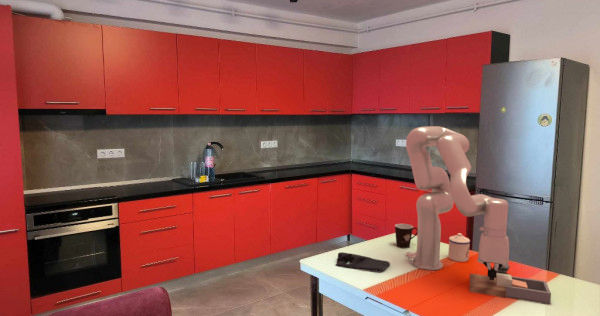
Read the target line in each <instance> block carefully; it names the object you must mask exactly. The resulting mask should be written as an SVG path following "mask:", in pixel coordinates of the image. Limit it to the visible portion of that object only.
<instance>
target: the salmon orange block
mask: <svg viewBox="0 0 600 316" xmlns="http://www.w3.org/2000/svg"><path fill="white" fill-rule="evenodd" d="M512 286H513V287H519V288H526V289H528V287H527V284H526V282H522V281H518V280H514V279H512Z"/></svg>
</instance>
